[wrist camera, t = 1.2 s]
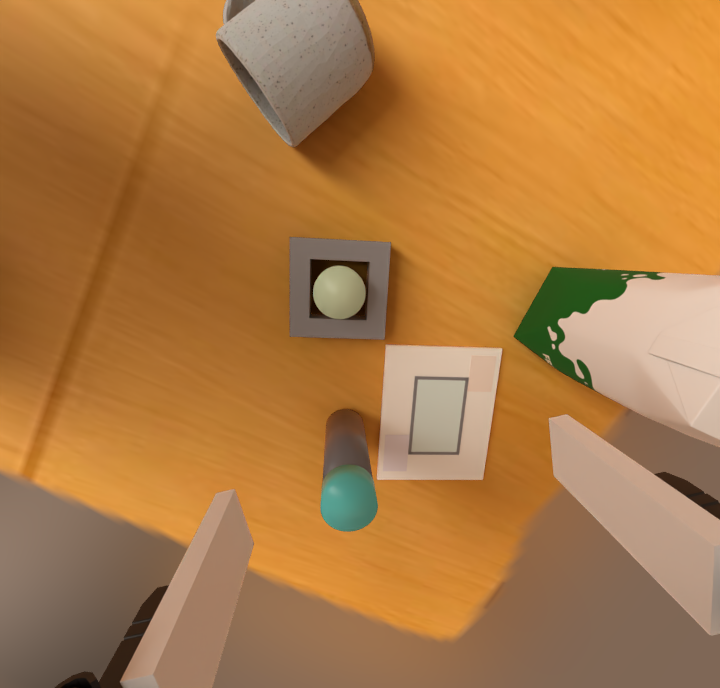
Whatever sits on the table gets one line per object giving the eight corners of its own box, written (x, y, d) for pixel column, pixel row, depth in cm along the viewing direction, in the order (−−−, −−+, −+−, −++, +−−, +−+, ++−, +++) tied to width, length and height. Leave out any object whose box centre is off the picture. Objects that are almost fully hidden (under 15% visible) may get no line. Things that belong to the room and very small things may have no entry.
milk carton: (625, 293, 33) (1024, 347, 14) (574, 377, 35) (865, 527, 16) (548, 252, 32) (874, 250, 13) (498, 342, 34) (717, 460, 14)
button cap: (314, 312, 30) (312, 318, 28) (315, 263, 29) (313, 265, 27) (361, 313, 31) (364, 319, 28) (363, 266, 30) (366, 267, 27)
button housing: (293, 330, 32) (289, 336, 30) (293, 238, 30) (289, 237, 28) (381, 333, 33) (384, 339, 30) (386, 243, 31) (391, 242, 29)
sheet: (376, 477, 36) (377, 480, 36) (385, 344, 33) (386, 345, 33) (481, 477, 37) (483, 480, 37) (500, 347, 34) (502, 349, 33)
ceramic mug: (377, 90, 28) (390, 29, 21) (298, 161, 29) (284, 127, 21) (285, -41, 26) (264, -163, 18) (203, 40, 27) (150, -45, 19)
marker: (325, 439, 35) (319, 531, 23) (326, 404, 34) (321, 482, 23) (362, 440, 35) (375, 531, 24) (364, 405, 34) (379, 482, 23)
